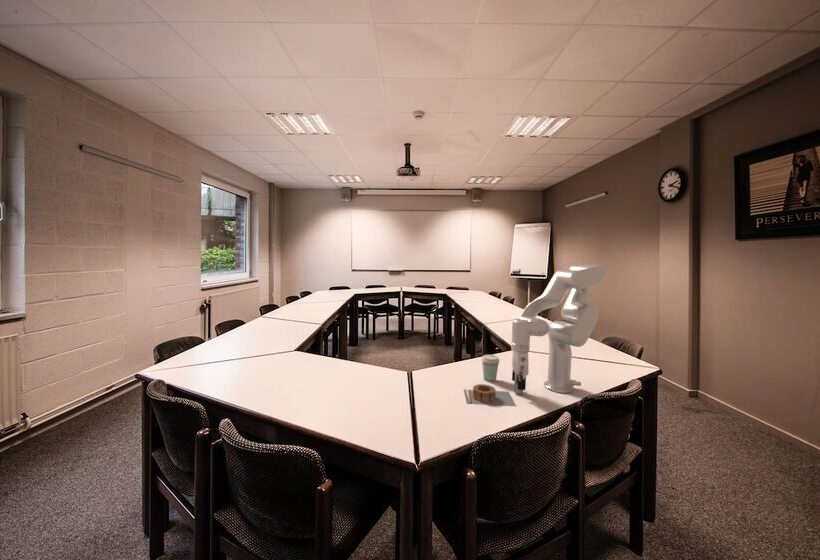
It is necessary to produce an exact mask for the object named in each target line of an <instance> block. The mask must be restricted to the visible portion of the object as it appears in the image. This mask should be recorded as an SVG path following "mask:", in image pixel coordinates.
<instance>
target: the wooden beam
mask: <svg viewBox="0 0 820 560" xmlns="http://www.w3.org/2000/svg"><path fill="white" fill-rule="evenodd" d="M520 378H521V376H520ZM518 380H519V378H518V375H517V374H516V373H515V381H513V382H514V383H513V385H514V387H513V393H514V394H515V396H523V394H524V390H518Z"/></svg>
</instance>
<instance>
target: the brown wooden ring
mask: <svg viewBox="0 0 820 560" xmlns="http://www.w3.org/2000/svg"><path fill="white" fill-rule="evenodd" d="M472 390H473V398H474V399H475V400H477V401H479V402H481V401H482V402H487V403H489V402H493V401H495V393H496V391H497V390H496V388H495V387H493V386H492V385H489V384H481V383H479V384H476V385H474V386H473V387H472Z"/></svg>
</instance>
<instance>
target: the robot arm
mask: <svg viewBox="0 0 820 560" xmlns="http://www.w3.org/2000/svg"><path fill="white" fill-rule="evenodd" d="M606 274H607V273H606V269H605V268H604V267H603V266H601V265H600V264H587V263H586V264H585V263H584V264H583V263H577V264H572V265H570V266H569V267H568V269H566V268H565V269H558V270H556V271H555V272H554V274H553V275H552V276H551V279H550V280H549V282H548V284H547V285H546V288H545V289H544V291H543V292H542V293H541V295H540V296H538V297H537V298H535V299H534V300H533V301H531V302H530V303H528V304H527V306H526V307H524V309H523V310H522V312H521V314H520V316H519V318H514V319H513V320H512V324H511V325H512V327H511V345H510V346H511V347H510V349H511V351H512V360H511V361H512V362H511V367H512V372H511V376H512V377H511V380H512V382H515V373H516V374H517V375H518V378H519V380H518V390H523V391H525V390H526V386H527V383H526V382H527V376H528V375H529V369H530V368H529V353H530V344H531V343H530V342H531V338H530V337H531V336H532V337H544V336H546V335H547V337H548V344H549V346H548V347H549V348H548V349H549V350H548V367H547V368H548V369H547V372H548V373H547V380H545V381H544V383H543V386H544V387H545V388H546V389H547V390H549V391H552V392H555V393H560V394H561V393H562V394H569V393H573V392H574V387H575V386H576V387H577V386H578V387H581V386H582V382H581V381H576V379H571V372H572V371H571V370H572V369H571V368H572V356H573V352H572V348H571V347H575V348H580V347H583V346H584V345H586V343H587V342H588V340H589V338H590V336H591V334H592V332H593V330H594V328H595V326H596V324H597V321H598V319H599V311H598V309H597V307H596V306H595V305H593V304H591V303H588V302H589V300H590V297H591V292H590V290H591V289H590V288H591V287H593V286H596V285H599V284H601V283H602V282H603V281H604V280H605V279H606V276H607V275H606ZM569 290H570V291H569ZM568 291H569V294H568V296H567V298H566V300H565V302H564V304H563V306H562V307H561V310H560V315H561V318H562V319H564V320H565V321H562V320H555V321H552V322H551V323H550V324H548V322H547V321H546V320H543V319H541V318H537V315H538V314H541V312H543V311H545V310H548V309H552V308H554V307H557V306H559V305H561V303H562V301H563V300H564V297H565V296H566V294H567V292H568ZM568 321H569V322H568ZM571 322H573V323H571ZM520 376H521V378H520Z"/></svg>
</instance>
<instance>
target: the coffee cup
mask: <svg viewBox="0 0 820 560" xmlns="http://www.w3.org/2000/svg"><path fill="white" fill-rule="evenodd" d="M481 357H482V358H481V362H482V375H483V381H486V382H488V383H489V382H490V383H494V382H497V375H498V370H499V363H500V358H499V357H498V356H497V355H495V354H484V355H482V356H481Z"/></svg>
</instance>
